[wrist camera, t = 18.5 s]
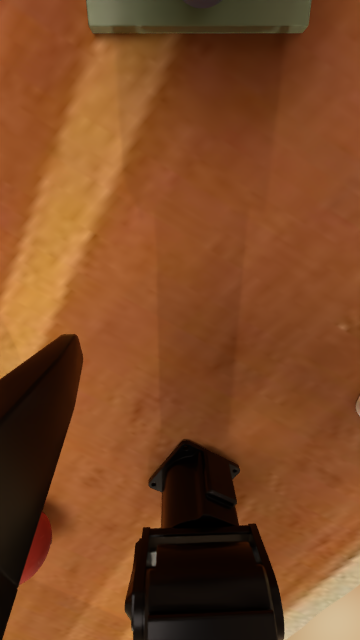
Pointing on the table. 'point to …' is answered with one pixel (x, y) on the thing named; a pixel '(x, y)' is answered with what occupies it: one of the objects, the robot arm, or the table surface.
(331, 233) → the table surface
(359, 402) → the decorative finial
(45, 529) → the kendama
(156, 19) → the stand
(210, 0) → the peg
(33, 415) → the robot arm
